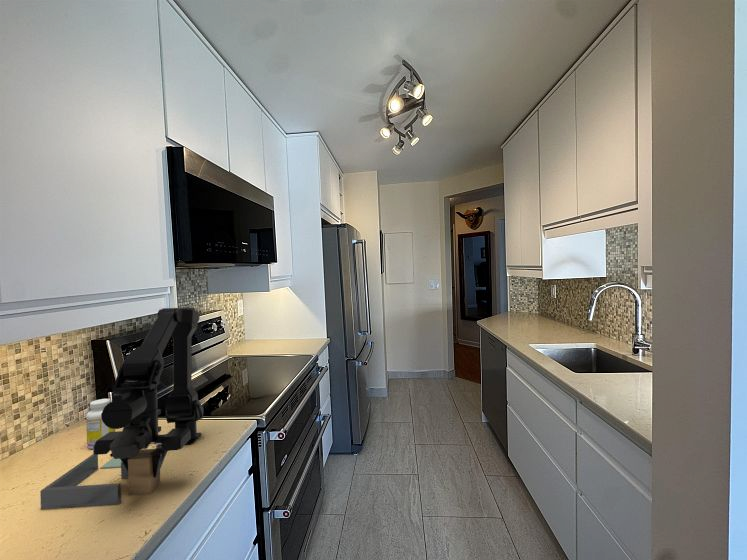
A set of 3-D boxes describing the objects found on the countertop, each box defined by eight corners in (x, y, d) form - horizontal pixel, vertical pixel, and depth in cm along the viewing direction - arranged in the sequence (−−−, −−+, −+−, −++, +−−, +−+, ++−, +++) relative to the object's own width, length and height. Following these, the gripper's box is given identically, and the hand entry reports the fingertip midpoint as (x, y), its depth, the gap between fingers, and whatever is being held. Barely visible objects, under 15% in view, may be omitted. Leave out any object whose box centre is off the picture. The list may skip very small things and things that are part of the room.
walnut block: (140, 483, 82) (139, 449, 82) (160, 481, 83) (159, 448, 82) (128, 495, 78) (127, 459, 78) (149, 493, 78) (148, 458, 78)
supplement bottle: (112, 437, 107) (111, 395, 107) (118, 443, 103) (117, 400, 102) (84, 445, 102) (83, 402, 101) (90, 452, 97) (88, 407, 97)
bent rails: (94, 469, 89) (93, 453, 89) (157, 465, 90) (156, 450, 90) (40, 509, 73) (40, 490, 73) (118, 504, 74) (117, 485, 74)
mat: (118, 454, 96) (118, 453, 96) (148, 453, 96) (148, 452, 96) (100, 468, 89) (100, 467, 89) (133, 466, 89) (133, 465, 89)
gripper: (72, 427, 71) (74, 502, 71) (167, 422, 73) (169, 496, 73) (109, 407, 82) (111, 472, 82) (191, 403, 84) (192, 467, 84)
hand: (144, 477), depth 80 cm, fingers closed on walnut block, 4 cm apart
